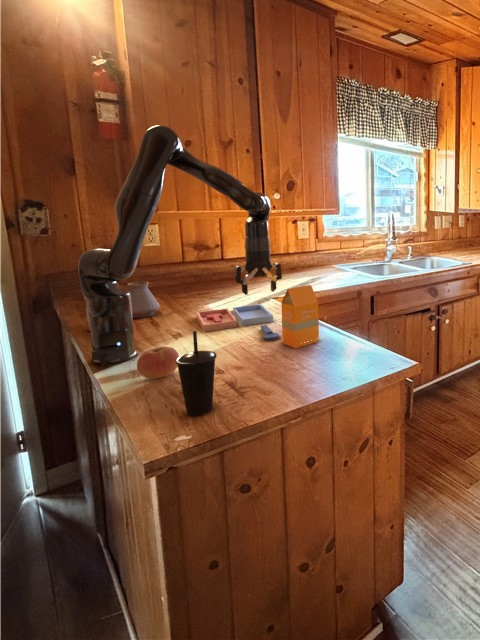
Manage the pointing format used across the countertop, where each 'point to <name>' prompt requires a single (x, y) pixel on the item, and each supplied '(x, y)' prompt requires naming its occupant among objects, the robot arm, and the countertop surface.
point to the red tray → (209, 325)
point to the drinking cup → (197, 379)
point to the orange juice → (300, 317)
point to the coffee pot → (142, 299)
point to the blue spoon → (269, 334)
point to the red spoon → (214, 317)
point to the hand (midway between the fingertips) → (259, 292)
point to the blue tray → (252, 314)
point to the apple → (157, 362)
